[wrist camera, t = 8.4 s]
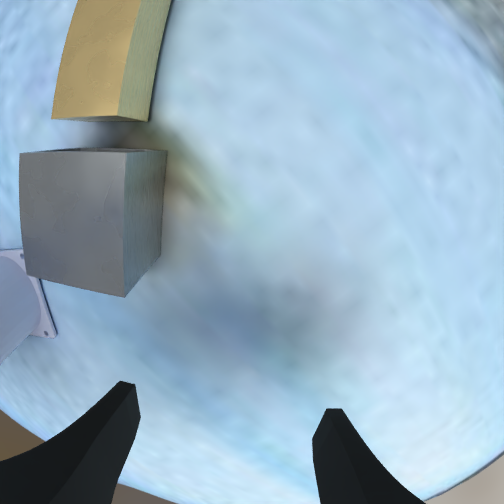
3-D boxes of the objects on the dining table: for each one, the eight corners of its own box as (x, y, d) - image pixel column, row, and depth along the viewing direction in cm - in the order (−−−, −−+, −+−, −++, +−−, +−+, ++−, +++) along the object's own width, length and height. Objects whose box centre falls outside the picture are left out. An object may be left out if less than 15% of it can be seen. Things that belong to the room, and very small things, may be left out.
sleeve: (160, 255, 18) (124, 297, 13) (77, 242, 18) (26, 275, 13) (167, 150, 16) (126, 153, 11) (77, 147, 16) (19, 153, 11)
